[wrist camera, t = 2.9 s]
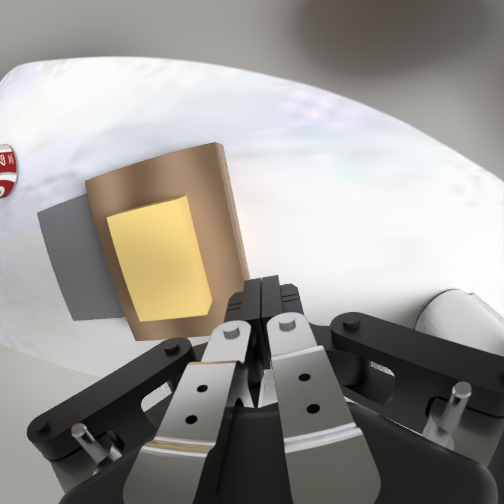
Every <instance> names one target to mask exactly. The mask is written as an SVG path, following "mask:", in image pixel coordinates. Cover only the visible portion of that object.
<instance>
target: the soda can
mask: <svg viewBox="0 0 504 504" xmlns="http://www.w3.org/2000/svg"><path fill="white" fill-rule="evenodd" d="M17 175H18V162H17V157H16V154H15V152H14V150H13V148H12V147H11V146H9V145H7V144H3V145H0V198H2V197H6V196H8V195H9V194H10V193H11V192H12V191H13V189H14V187H15V184H16V181H17Z"/></svg>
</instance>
